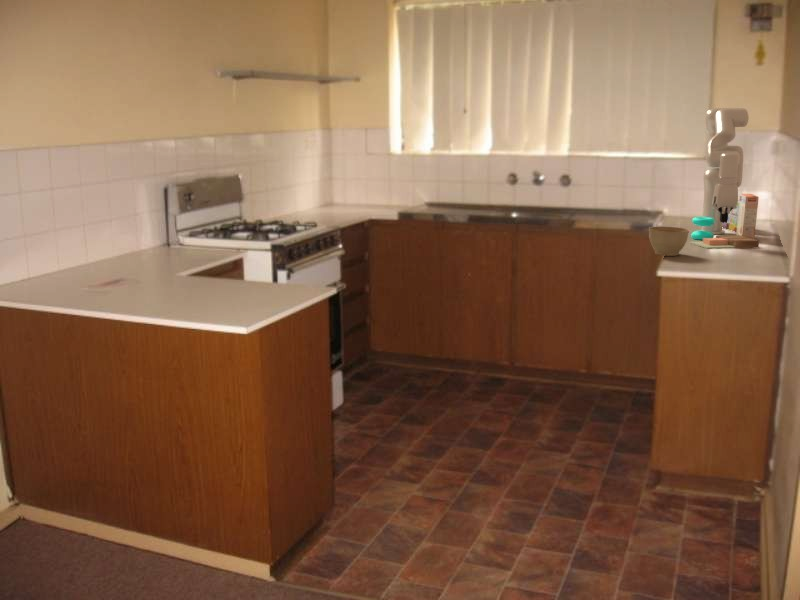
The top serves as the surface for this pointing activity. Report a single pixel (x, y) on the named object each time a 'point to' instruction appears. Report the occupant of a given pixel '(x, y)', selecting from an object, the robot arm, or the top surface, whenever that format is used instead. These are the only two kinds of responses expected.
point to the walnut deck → (740, 241)
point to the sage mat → (711, 245)
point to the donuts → (702, 222)
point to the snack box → (732, 219)
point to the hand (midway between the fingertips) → (723, 222)
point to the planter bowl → (668, 240)
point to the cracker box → (747, 215)
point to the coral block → (715, 241)
